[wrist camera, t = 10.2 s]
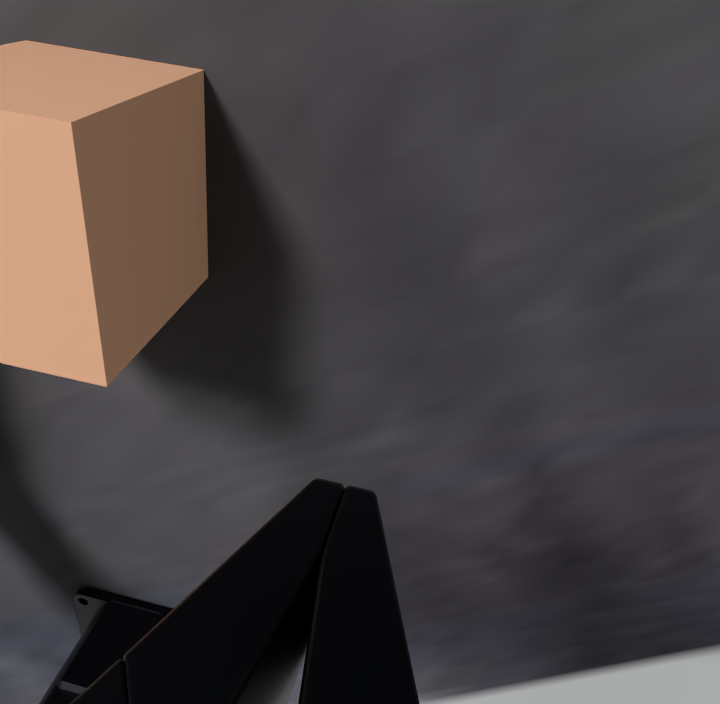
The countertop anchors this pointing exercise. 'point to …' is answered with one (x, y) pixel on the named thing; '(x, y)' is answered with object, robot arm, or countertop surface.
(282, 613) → the robot arm
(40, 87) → the doorstop block
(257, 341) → the countertop surface
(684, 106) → the countertop surface
